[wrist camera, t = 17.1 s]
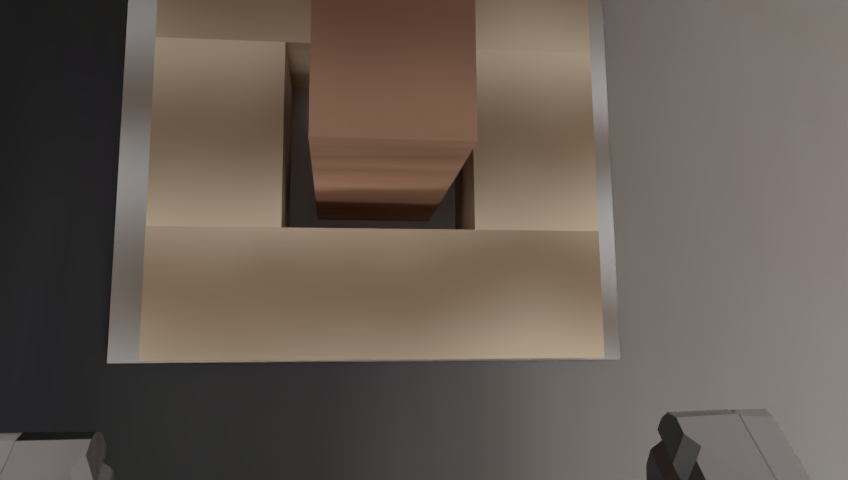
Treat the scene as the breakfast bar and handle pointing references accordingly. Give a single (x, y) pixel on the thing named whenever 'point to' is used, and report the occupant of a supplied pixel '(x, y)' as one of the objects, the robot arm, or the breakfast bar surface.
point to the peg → (390, 105)
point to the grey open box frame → (357, 239)
